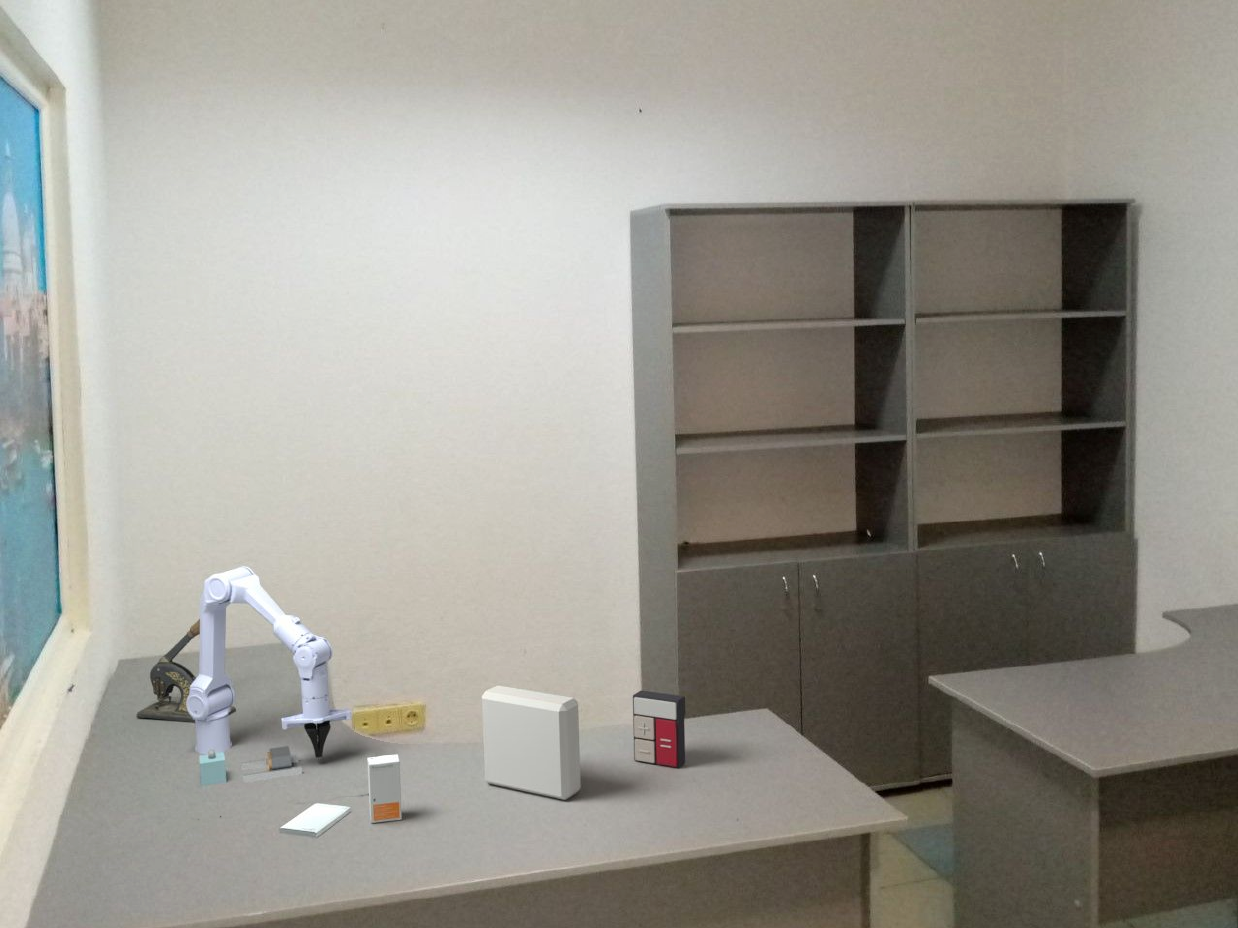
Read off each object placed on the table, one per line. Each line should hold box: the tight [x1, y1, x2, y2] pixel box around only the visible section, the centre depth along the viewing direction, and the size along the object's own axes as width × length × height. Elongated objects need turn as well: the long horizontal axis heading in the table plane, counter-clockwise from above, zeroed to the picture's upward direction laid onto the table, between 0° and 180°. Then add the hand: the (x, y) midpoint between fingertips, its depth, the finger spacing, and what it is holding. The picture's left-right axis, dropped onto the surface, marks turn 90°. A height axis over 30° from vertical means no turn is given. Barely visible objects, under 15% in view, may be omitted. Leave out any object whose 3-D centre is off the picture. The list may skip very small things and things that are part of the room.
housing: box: [198, 750, 227, 787], centre depth 249 cm, size 5×5×6 cm
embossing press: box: [136, 618, 237, 723], centre depth 295 cm, size 11×24×30 cm, turn 74°
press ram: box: [266, 745, 293, 771], centre depth 254 cm, size 6×5×4 cm
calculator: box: [632, 689, 686, 769], centre depth 256 cm, size 11×4×15 cm, turn 62°
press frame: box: [240, 753, 303, 783], centre depth 252 cm, size 12×22×3 cm, turn 111°
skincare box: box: [366, 754, 402, 824], centre depth 230 cm, size 6×4×12 cm
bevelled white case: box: [481, 685, 582, 801], centre depth 243 cm, size 21×8×20 cm, turn 59°
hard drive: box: [278, 802, 352, 839], centre depth 230 cm, size 2×8×12 cm
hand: (318, 755), depth 257 cm, fingers closed
